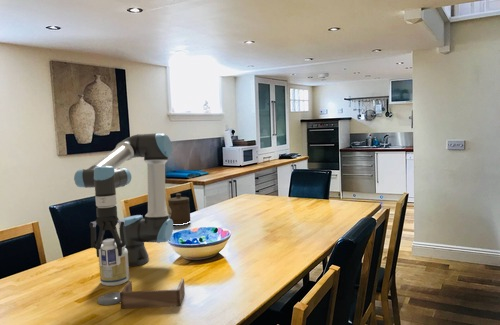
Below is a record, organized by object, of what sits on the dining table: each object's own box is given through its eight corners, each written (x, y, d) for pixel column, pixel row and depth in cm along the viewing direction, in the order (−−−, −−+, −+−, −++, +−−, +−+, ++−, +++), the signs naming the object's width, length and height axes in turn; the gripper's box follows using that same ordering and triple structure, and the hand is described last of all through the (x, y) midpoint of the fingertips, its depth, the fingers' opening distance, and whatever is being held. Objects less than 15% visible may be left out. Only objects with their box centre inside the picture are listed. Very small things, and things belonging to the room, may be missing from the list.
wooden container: (173, 221, 290) (171, 191, 289) (193, 221, 288) (191, 191, 286) (166, 226, 276) (164, 195, 274) (187, 226, 274) (185, 194, 272)
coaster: (103, 294, 162) (103, 292, 162) (130, 292, 162) (130, 291, 162) (93, 305, 151) (93, 304, 151) (122, 304, 151) (122, 303, 151)
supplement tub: (107, 276, 181) (104, 240, 180) (133, 276, 181) (131, 239, 180) (95, 287, 169) (93, 248, 168) (124, 286, 169) (121, 247, 167)
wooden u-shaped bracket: (130, 295, 159) (129, 280, 159) (184, 292, 160) (183, 278, 159) (120, 308, 147) (119, 293, 147) (180, 306, 148) (179, 290, 147)
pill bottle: (119, 262, 158) (118, 237, 157) (115, 267, 153) (113, 241, 152) (105, 262, 158) (103, 238, 157) (100, 267, 152) (98, 242, 152)
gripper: (78, 208, 149) (82, 268, 151) (127, 206, 150) (131, 266, 152) (85, 205, 157) (89, 262, 159) (133, 203, 157) (136, 260, 159)
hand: (110, 264), depth 155 cm, fingers closed on pill bottle, 6 cm apart
